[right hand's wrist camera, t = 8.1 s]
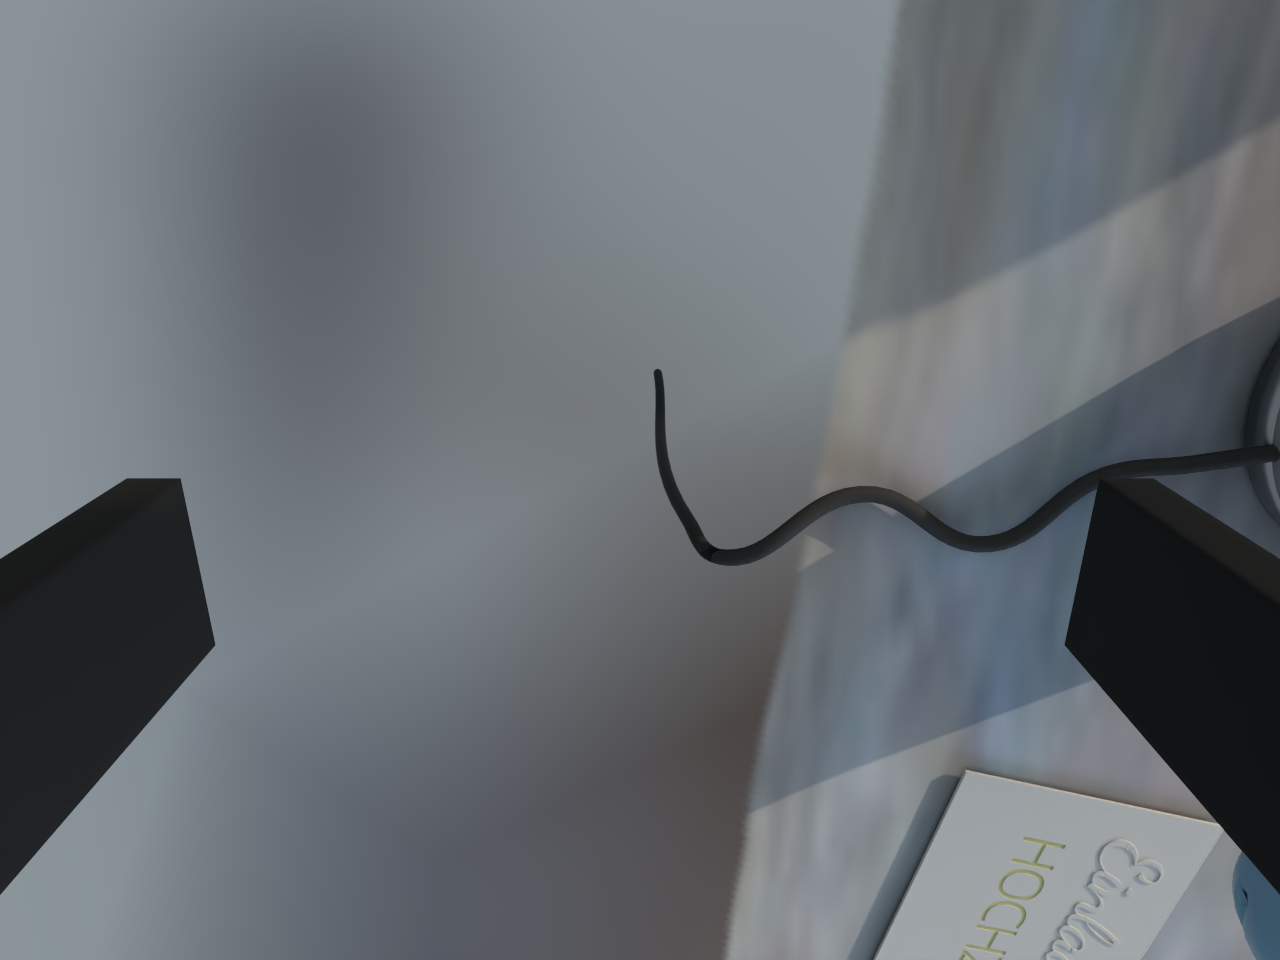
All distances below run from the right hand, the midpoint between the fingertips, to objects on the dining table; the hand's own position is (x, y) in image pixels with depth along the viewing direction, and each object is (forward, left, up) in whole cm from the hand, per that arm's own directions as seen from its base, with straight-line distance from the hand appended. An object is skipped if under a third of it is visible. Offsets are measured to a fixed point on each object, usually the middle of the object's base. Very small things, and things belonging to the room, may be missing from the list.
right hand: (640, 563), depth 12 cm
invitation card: (+6, -42, -25) cm, 50 cm away
